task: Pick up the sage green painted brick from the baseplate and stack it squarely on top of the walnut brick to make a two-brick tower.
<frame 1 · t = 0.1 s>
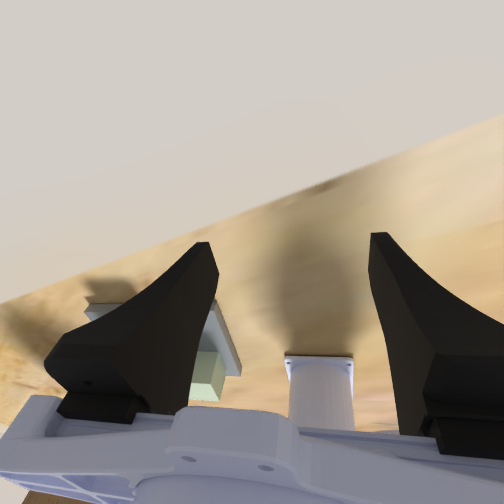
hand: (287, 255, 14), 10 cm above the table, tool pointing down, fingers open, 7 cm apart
block: (116, 399, 54), on the table
green brick: (200, 360, 38), point 1 cm above the table, touching baseplate
baseplate: (170, 337, 38), on the table
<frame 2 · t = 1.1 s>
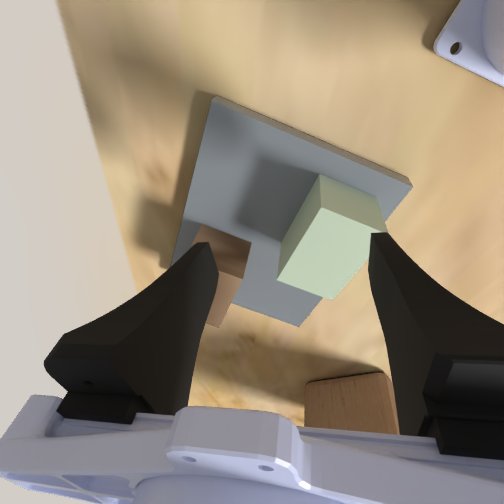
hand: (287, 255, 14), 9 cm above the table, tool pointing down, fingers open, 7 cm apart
block: (356, 393, 38), on the table
walnut brick: (216, 260, 25), point 1 cm above the table, touching baseplate
green brick: (325, 221, 21), point 1 cm above the table, touching baseplate
baseplate: (268, 233, 24), on the table
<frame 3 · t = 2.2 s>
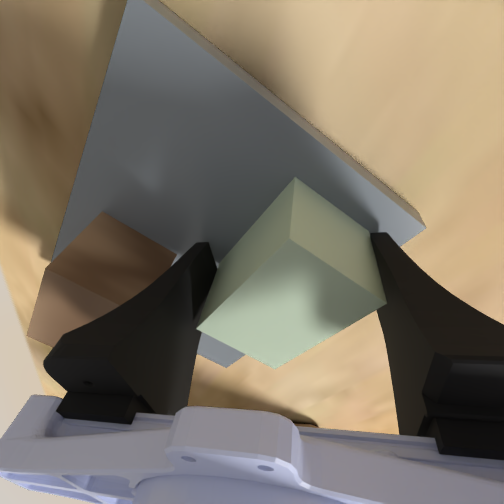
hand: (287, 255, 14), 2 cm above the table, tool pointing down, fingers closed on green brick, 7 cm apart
walnut brick: (122, 267, 17), point 1 cm above the table, touching baseplate
green brick: (287, 248, 14), point 1 cm above the table, touching baseplate, gripper
baseplate: (204, 244, 16), on the table
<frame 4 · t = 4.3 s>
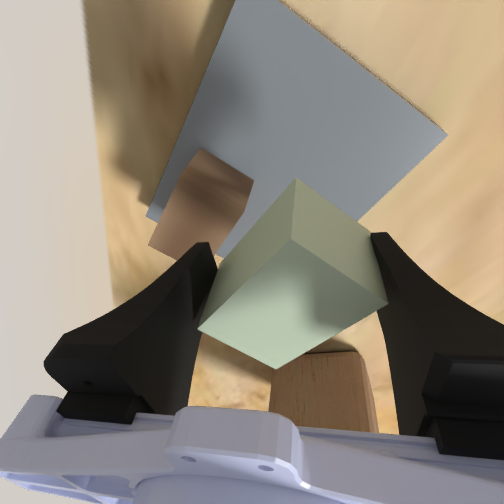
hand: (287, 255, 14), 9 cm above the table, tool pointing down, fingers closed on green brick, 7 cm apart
block: (324, 372, 36), on the table
walnut brick: (209, 197, 22), point 1 cm above the table, touching baseplate
green brick: (288, 249, 14), point 9 cm above the table, touching gripper
baseplate: (272, 174, 21), on the table
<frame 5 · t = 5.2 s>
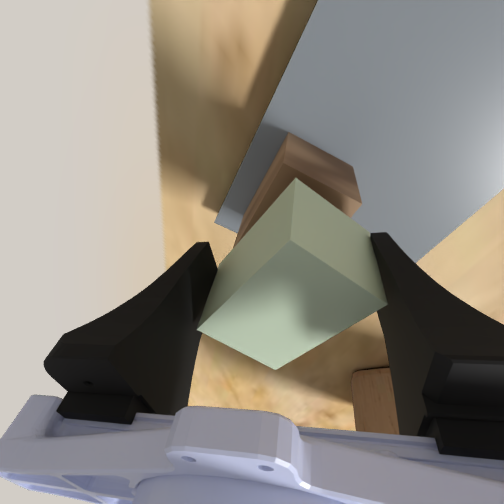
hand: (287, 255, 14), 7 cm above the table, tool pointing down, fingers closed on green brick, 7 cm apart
block: (407, 386, 32), on the table
walnut brick: (293, 193, 18), point 1 cm above the table, touching baseplate
green brick: (287, 249, 14), point 7 cm above the table, touching gripper
baseplate: (370, 158, 17), on the table
when the fingers open (7 cm above the table, at t = 6.4 s): green brick stays where it is, point 5 cm above the table.
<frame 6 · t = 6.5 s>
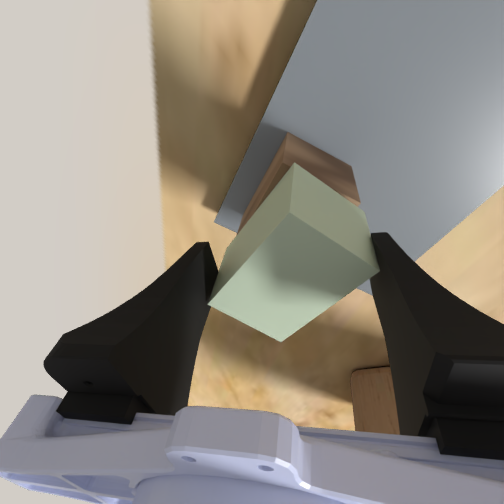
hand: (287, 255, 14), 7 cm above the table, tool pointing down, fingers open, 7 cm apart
block: (406, 385, 32), on the table
walnut brick: (292, 192, 18), point 1 cm above the table, touching baseplate
green brick: (289, 231, 15), point 5 cm above the table, touching gripper
baseplate: (369, 158, 17), on the table
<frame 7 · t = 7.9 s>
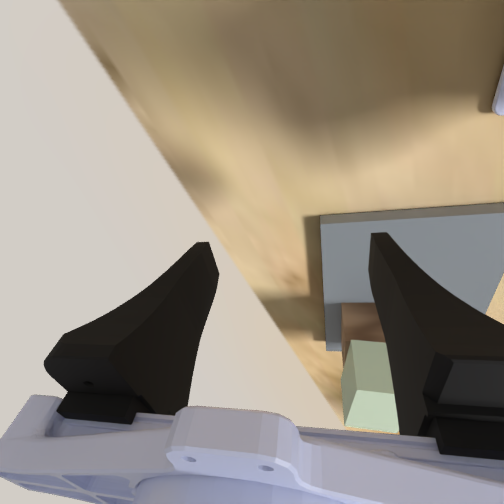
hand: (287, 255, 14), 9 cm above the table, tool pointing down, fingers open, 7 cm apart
walnut brick: (363, 324, 28), point 1 cm above the table, touching baseplate, green brick
green brick: (370, 363, 25), point 5 cm above the table, touching walnut brick
baseplate: (400, 288, 26), on the table
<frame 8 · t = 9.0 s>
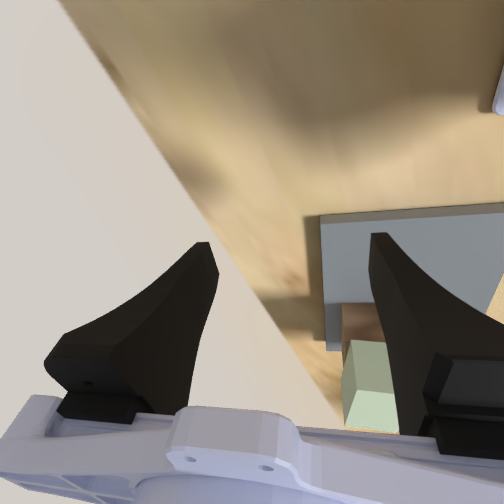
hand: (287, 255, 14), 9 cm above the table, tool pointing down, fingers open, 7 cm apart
walnut brick: (363, 324, 28), point 1 cm above the table, touching baseplate, green brick
green brick: (370, 363, 25), point 5 cm above the table, touching walnut brick
baseplate: (400, 288, 26), on the table
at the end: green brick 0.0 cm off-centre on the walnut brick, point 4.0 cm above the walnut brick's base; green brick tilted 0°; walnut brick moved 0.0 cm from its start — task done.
